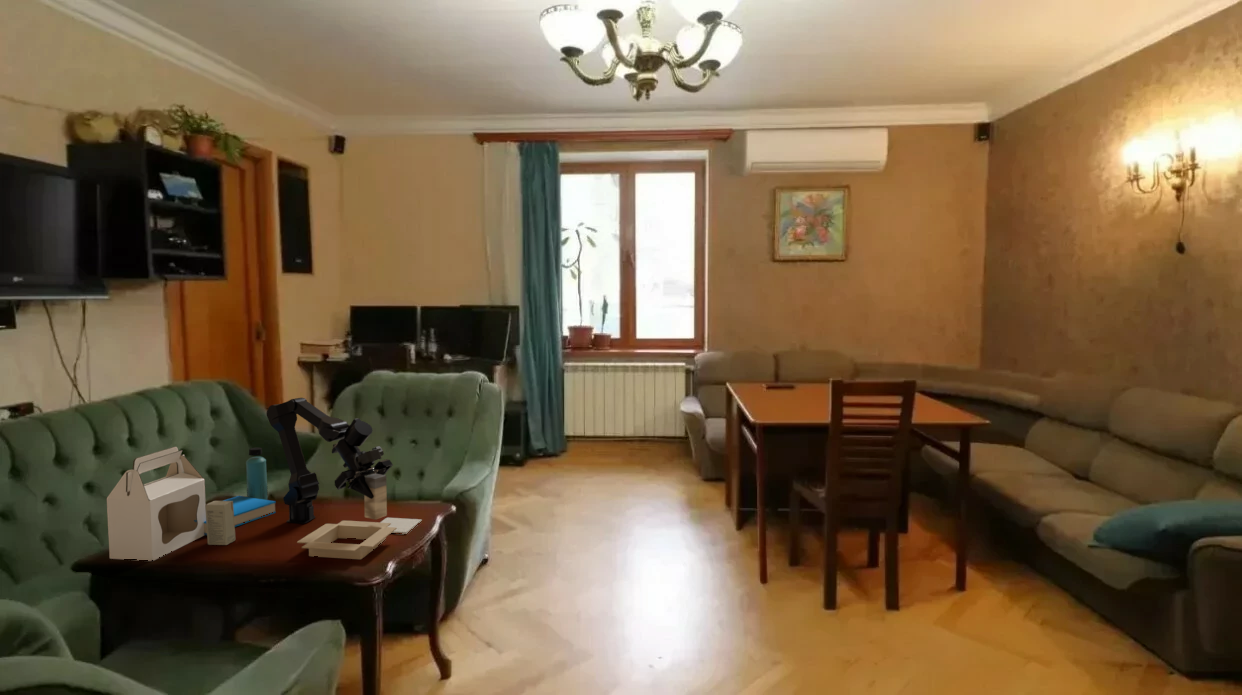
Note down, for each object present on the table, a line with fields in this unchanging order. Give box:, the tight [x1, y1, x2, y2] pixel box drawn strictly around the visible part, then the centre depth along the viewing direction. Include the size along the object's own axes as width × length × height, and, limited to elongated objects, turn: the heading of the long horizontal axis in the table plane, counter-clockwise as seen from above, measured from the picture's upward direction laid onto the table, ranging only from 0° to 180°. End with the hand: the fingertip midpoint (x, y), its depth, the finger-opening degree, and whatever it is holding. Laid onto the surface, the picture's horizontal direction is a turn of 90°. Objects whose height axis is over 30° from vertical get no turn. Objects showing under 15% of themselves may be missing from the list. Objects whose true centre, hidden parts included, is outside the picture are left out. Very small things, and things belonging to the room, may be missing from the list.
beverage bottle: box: [245, 447, 269, 500], centre depth 246 cm, size 6×7×20 cm
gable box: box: [106, 446, 206, 562], centre depth 206 cm, size 22×13×28 cm, turn 173°
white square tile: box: [379, 517, 423, 535], centre depth 226 cm, size 12×12×1 cm
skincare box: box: [205, 500, 236, 546], centre depth 210 cm, size 6×4×12 cm
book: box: [194, 495, 277, 536], centre depth 229 cm, size 17×4×25 cm
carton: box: [296, 520, 397, 560], centre depth 208 cm, size 23×23×4 cm
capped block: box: [363, 473, 388, 521], centre depth 215 cm, size 4×4×12 cm
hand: (378, 495), depth 214 cm, fingers closed on capped block, 4 cm apart
